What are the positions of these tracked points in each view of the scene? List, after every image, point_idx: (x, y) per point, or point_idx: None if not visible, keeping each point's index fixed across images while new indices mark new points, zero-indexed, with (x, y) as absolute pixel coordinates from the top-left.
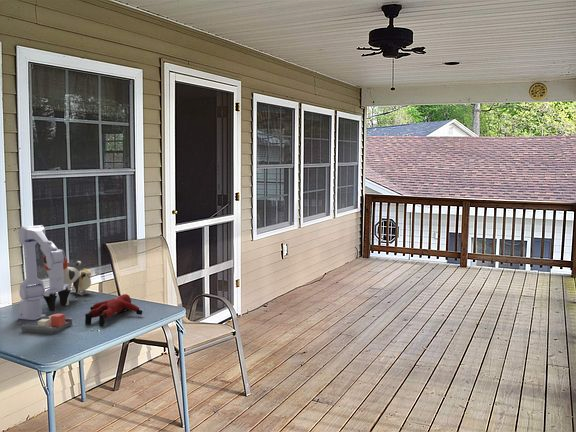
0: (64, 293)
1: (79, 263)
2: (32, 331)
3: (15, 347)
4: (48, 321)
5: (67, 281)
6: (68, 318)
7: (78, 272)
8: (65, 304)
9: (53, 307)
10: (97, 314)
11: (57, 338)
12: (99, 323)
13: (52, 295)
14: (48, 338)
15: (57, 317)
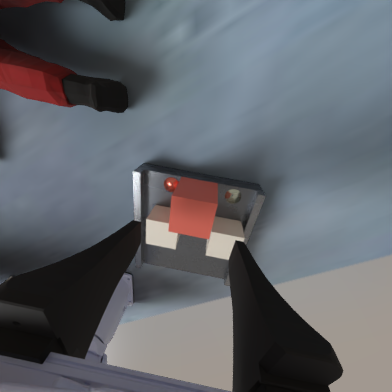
0: (81, 303)
1: None
2: None
3: (384, 235)
4: (222, 230)
5: None
6: (135, 185)
7: None
8: (132, 225)
9: (253, 258)
10: (41, 60)
11: (312, 143)
12: (117, 9)
13: (281, 380)
14: (304, 177)
15: (216, 208)
